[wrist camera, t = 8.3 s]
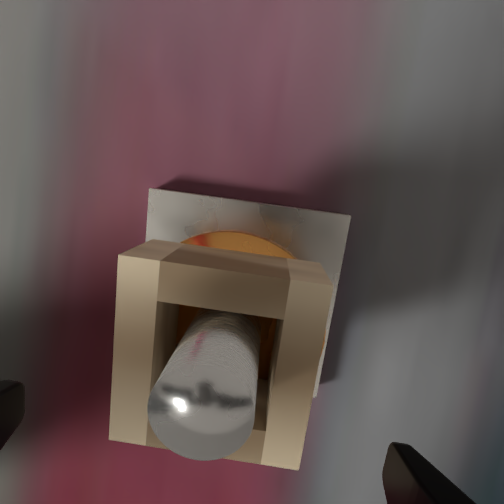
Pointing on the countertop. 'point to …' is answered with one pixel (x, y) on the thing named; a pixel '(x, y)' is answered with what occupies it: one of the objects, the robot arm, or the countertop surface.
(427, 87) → the countertop surface
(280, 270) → the collar
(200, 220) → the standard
